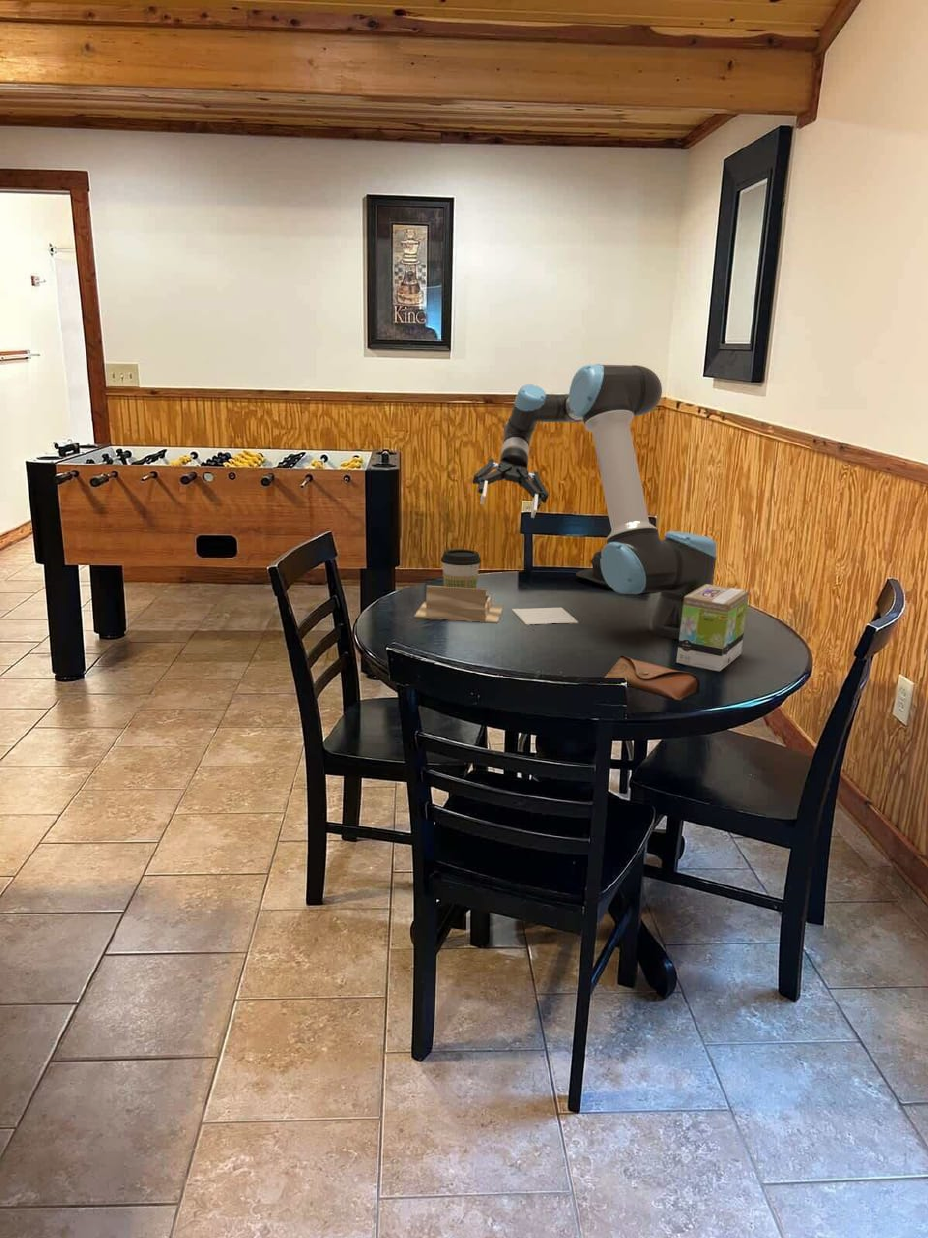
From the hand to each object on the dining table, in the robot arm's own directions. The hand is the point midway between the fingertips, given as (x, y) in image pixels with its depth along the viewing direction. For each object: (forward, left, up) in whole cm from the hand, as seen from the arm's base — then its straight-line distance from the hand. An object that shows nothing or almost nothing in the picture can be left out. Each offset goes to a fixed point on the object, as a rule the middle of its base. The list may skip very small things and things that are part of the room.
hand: (508, 507), depth 236 cm
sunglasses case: (-68, -12, -25) cm, 73 cm away
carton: (-11, +14, -24) cm, 30 cm away
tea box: (-55, -31, -24) cm, 67 cm away
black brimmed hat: (+11, -36, -24) cm, 45 cm away
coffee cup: (-13, +15, -24) cm, 31 cm away
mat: (-19, -5, -24) cm, 31 cm away
